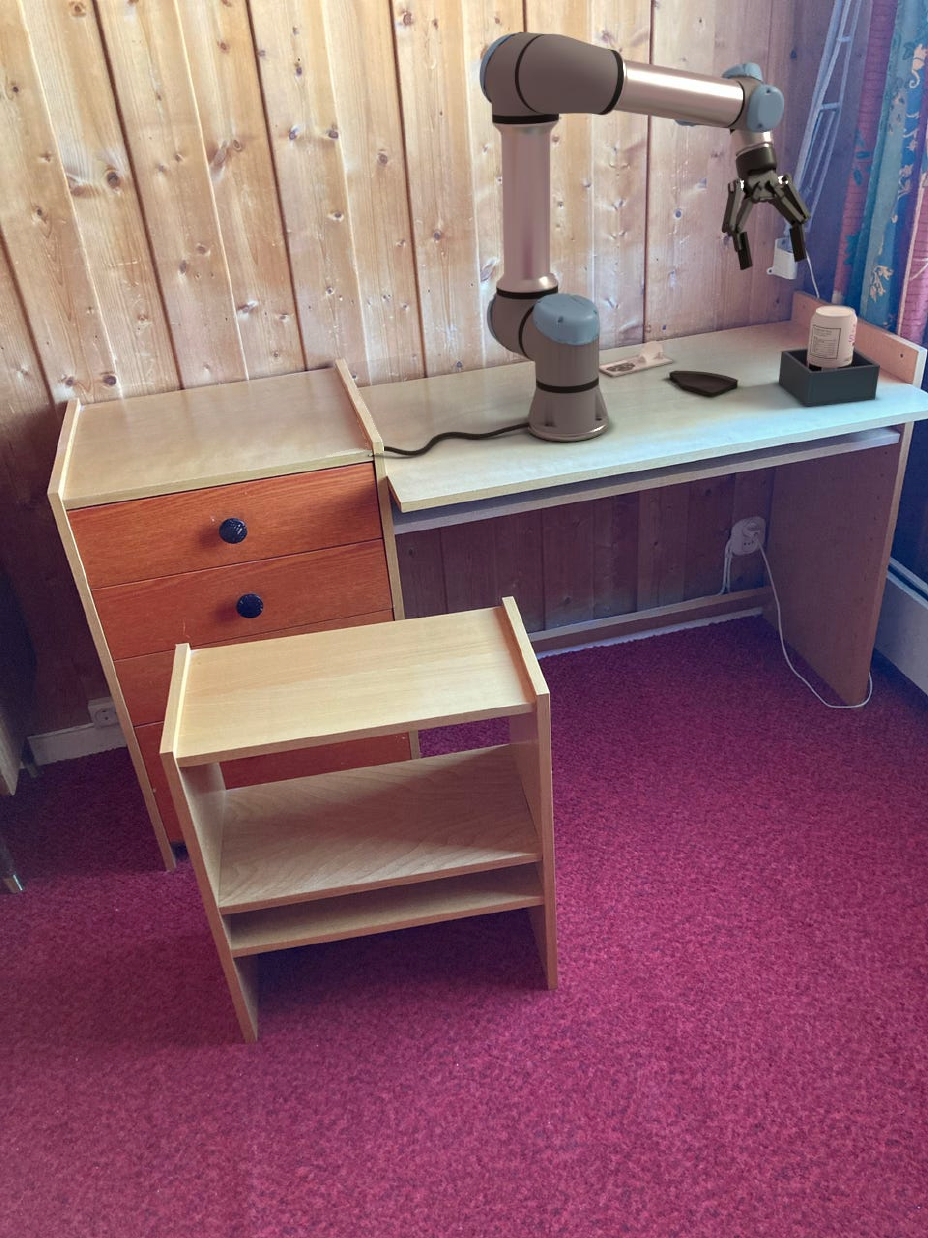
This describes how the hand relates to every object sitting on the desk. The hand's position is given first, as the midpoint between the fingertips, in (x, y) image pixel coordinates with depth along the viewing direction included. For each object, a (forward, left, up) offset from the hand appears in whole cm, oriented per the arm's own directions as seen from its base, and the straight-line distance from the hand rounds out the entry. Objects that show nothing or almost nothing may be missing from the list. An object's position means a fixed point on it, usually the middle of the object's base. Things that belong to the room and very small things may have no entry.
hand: (774, 264), depth 202 cm
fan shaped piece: (-14, -3, -22) cm, 26 cm away
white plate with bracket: (-24, +13, -22) cm, 35 cm away
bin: (+7, -13, -22) cm, 26 cm away
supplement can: (+7, -13, -21) cm, 26 cm away
